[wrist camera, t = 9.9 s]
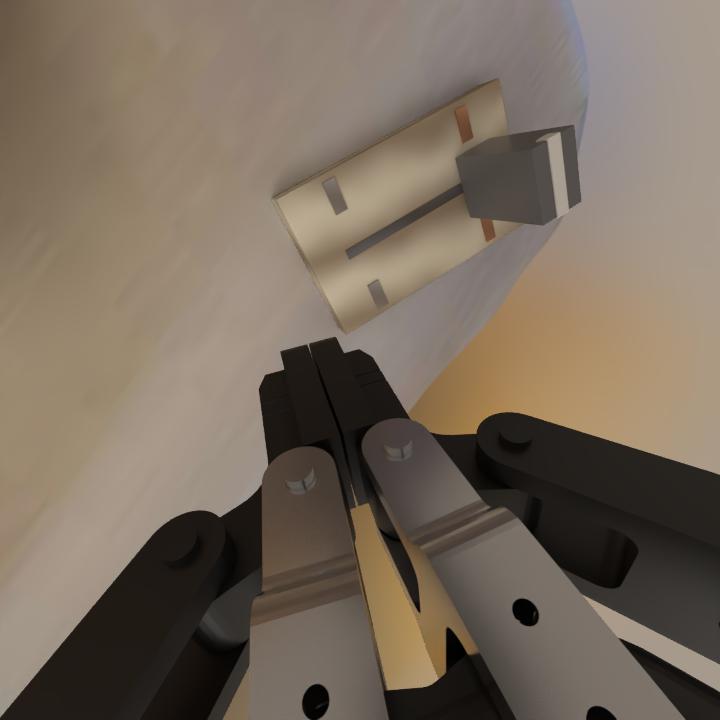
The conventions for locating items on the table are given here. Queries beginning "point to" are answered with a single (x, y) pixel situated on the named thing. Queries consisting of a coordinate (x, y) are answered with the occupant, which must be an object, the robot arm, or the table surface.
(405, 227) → the fader panel
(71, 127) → the table surface
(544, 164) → the fader knob
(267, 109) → the table surface
